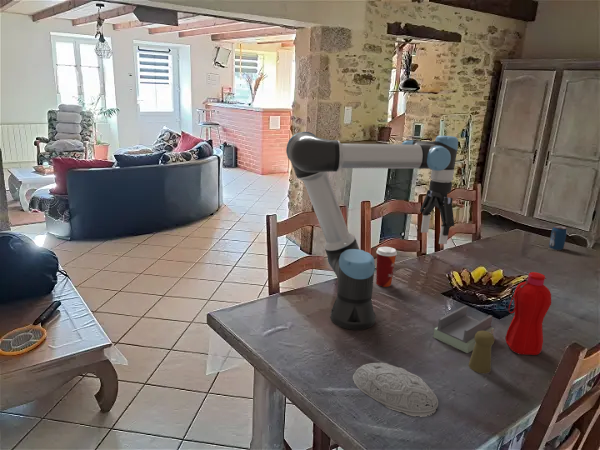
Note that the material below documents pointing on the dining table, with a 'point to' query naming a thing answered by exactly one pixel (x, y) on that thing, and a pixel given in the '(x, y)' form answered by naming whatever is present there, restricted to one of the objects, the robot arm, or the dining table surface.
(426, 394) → the embossed oval dome
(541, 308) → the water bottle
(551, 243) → the soda can
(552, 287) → the dining table surface
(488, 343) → the olive pepper shaker
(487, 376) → the dining table surface
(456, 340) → the grey tray
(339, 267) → the robot arm
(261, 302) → the dining table surface
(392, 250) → the coffee cup
